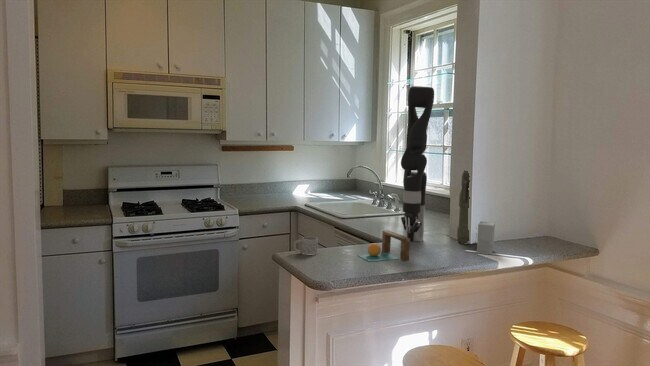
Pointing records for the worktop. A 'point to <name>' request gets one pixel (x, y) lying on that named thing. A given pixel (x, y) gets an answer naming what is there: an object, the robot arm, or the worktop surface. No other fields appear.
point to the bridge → (404, 244)
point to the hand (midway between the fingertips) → (410, 241)
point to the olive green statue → (463, 209)
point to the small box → (485, 237)
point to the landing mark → (378, 257)
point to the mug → (307, 245)
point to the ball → (374, 249)
